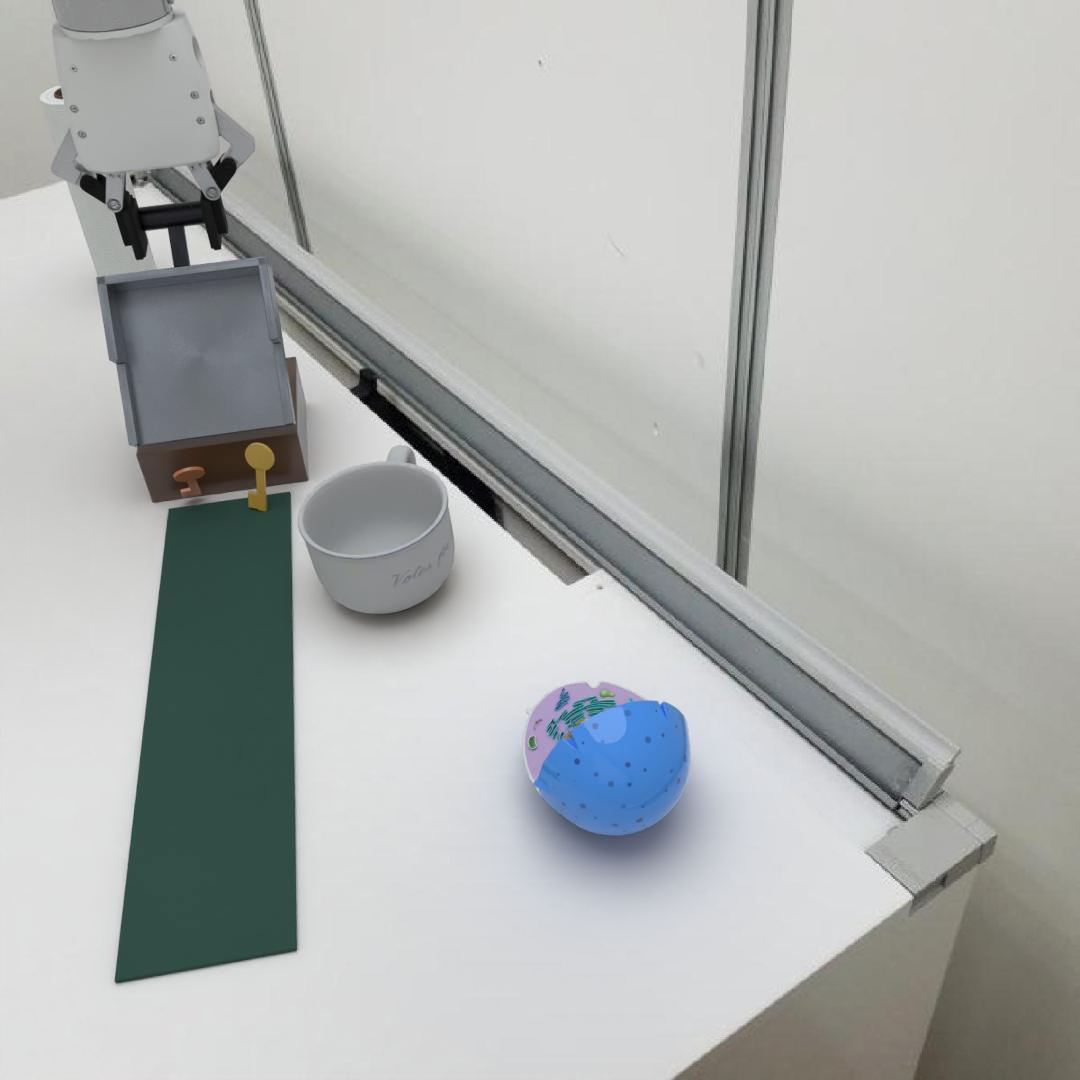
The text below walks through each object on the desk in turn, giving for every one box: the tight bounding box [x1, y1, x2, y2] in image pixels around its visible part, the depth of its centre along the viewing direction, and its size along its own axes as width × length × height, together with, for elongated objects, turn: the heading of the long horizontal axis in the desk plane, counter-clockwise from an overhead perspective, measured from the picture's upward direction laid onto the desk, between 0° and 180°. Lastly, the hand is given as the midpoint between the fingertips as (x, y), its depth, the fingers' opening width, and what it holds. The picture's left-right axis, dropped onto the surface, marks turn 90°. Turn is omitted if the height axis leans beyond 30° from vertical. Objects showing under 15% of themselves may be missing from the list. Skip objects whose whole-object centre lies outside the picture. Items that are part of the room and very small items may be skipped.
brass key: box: [245, 443, 275, 511], centre depth 92 cm, size 6×2×1 cm
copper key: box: [173, 467, 205, 499], centre depth 93 cm, size 6×2×1 cm
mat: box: [114, 491, 298, 984], centre depth 80 cm, size 42×10×1 cm, turn 10°
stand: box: [135, 356, 309, 503], centre depth 100 cm, size 12×13×5 cm
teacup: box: [297, 444, 455, 615], centre depth 86 cm, size 14×11×8 cm
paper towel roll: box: [38, 84, 158, 277], centre depth 118 cm, size 7×6×21 cm
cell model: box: [521, 680, 692, 837], centre depth 69 cm, size 10×12×10 cm
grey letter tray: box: [95, 199, 296, 448], centre depth 91 cm, size 18×13×4 cm
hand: (179, 245), depth 90 cm, fingers closed on grey letter tray, 5 cm apart
